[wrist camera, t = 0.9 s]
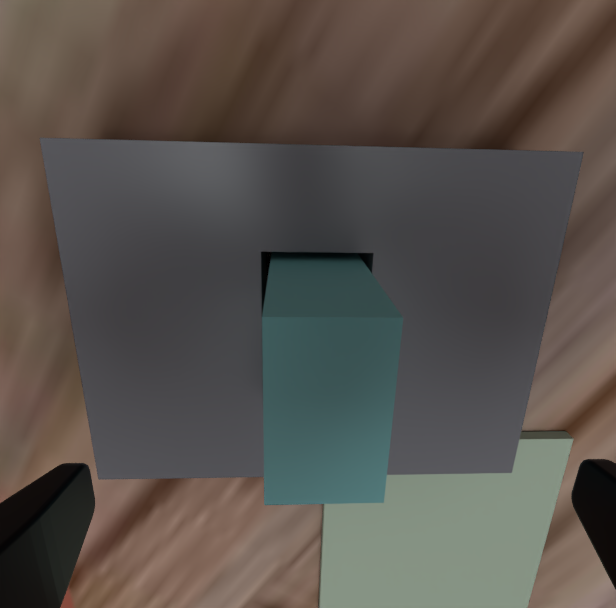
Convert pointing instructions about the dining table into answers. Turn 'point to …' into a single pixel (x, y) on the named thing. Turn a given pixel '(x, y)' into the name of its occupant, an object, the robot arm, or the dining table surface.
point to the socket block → (253, 281)
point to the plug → (327, 380)
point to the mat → (446, 536)
